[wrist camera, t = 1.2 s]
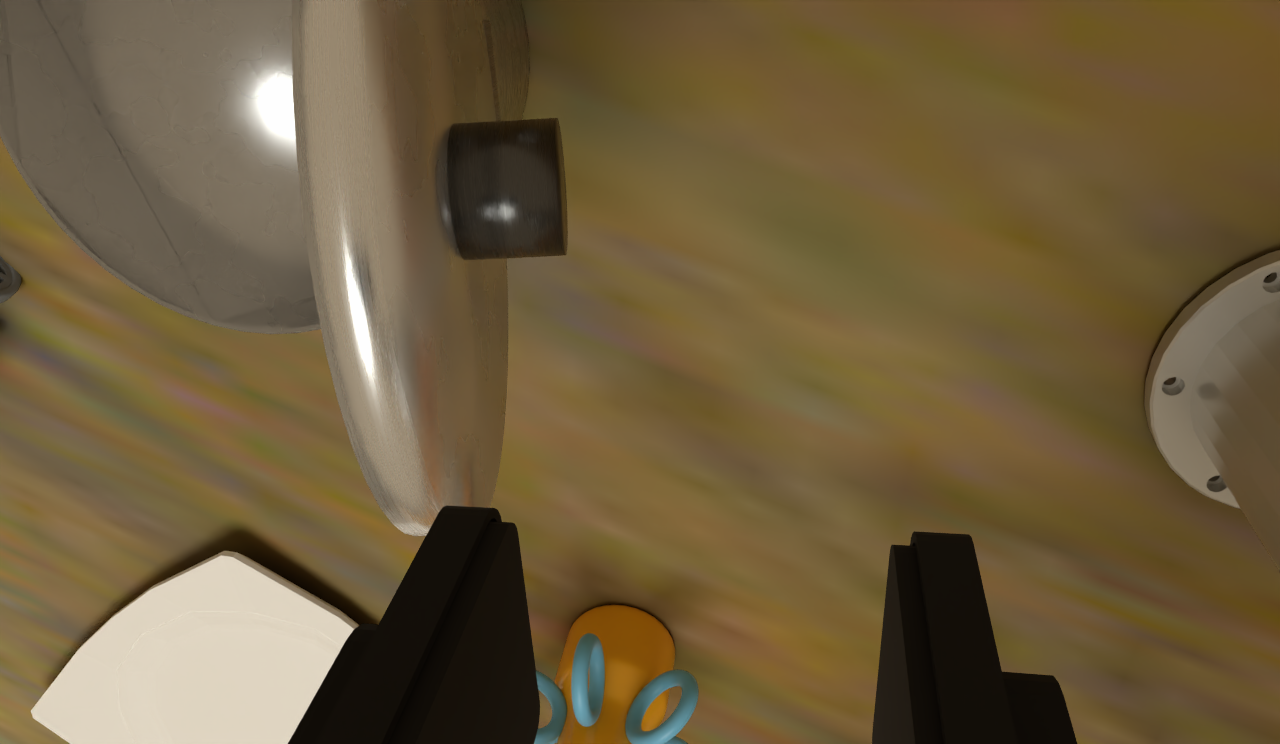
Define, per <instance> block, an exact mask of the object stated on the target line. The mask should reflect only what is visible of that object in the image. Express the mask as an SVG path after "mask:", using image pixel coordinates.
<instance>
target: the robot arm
mask: <svg viewBox="0 0 1280 744" xmlns="http://www.w3.org/2000/svg"><path fill="white" fill-rule="evenodd" d="M1271 273H1272V274H1271ZM1269 274H1271V276H1269V277H1268V278H1265V277H1266V276H1268V275H1269ZM1169 378H1170V379H1169ZM1167 379H1169V380H1167ZM1144 407H1145V412H1146V418H1147V423H1148V428H1149V430H1150V432H1151V434H1152V436H1153V439H1154V441H1155V443H1156V445H1157V447H1158V449H1159V451H1160V452H1161V454H1162V455H1163V457H1164V458H1165V460H1166V462H1167V463H1168V465H1169V466H1170V468H1171V469H1172V470H1173V471H1174V472H1175V473H1176V474H1177V475H1178V476H1179V477H1180V478H1181V479H1182V480H1183V481H1185V482H1186V483H1187V484H1188V485H1189V486H1191V487H1192V488H1194V489H1195V490H1197V491H1198V492H1200V493H1201V494H1203V495H1205V496H1206V497H1208V498H1211V499H1213V500H1216V501H1218V502H1221V503H1224V504H1226V505H1229V506H1231V507H1234V508H1239V509H1241V510H1242V512H1243V513H1244V515H1245V516H1246V518H1247V520H1248V521H1249V523H1250V525H1251V526H1252V528H1253V529H1254V531H1255V533H1256V534H1257V536H1258V537H1259V539H1260V541H1261V542H1262V544H1263V546H1264V547H1265V549H1266V550H1267V552H1268V554H1269V555H1270V557H1271V559H1272V560H1273V562H1274V563H1275V565H1276V567H1277V568H1278V570H1279V572H1280V250H1278V251H1274V252H1271V253H1268V254H1266V255H1264V256H1261V257H1259V258H1257V259H1255V260H1253V261H1251V262H1249V263H1246V264H1244V265H1242V266H1240V267H1238V268H1236V269H1234V270H1233V271H1231V272H1230V273H1228V274H1227V275H1225V276H1224V277H1222V278H1221V279H1219V280H1218V281H1216V282H1215V283H1213V284H1212V285H1210V286H1209V287H1207V288H1206V289H1205V290H1204V291H1203V292H1202V293H1201V294H1200V295H1198V296H1197V297H1196V298H1195V299H1194V300H1193V301H1192V302H1191V303H1190V304H1188V305H1187V306H1186V307H1185V308H1184V309H1183V310H1182V312H1181V313H1180V314H1179V316H1178V317H1177V318H1176V319H1175V321H1174V322H1173V323H1172V324H1171V326H1170V327H1169V328H1168V329H1167V331H1166V332H1165V334H1164V336H1163V338H1162V340H1161V341H1160V343H1159V345H1158V347H1157V349H1156V351H1155V353H1154V355H1153V357H1152V360H1151V364H1150V367H1149V371H1148V374H1147V378H1146V381H1145V399H1144ZM539 715H540V700H539V692H538V684H537V676H536V669H535V661H534V653H533V646H532V638H531V630H530V622H529V615H528V607H527V599H526V592H525V584H524V576H523V569H522V561H521V553H520V545H519V538H518V532H517V527H516V525H515V524H514V523H508V522H502V521H501V516H500V514H499V512H498V510H497V509H495V508H483V507H466V506H448V505H447V506H445V507H442V509H441V510H440V512H439V513H438V515H437V517H436V518H435V520H434V522H433V524H432V526H431V528H430V530H429V532H428V533H427V535H426V537H425V539H424V541H423V543H422V545H421V546H420V548H419V550H418V552H417V554H416V556H415V558H414V560H413V561H412V563H411V565H410V567H409V569H408V571H407V573H406V575H405V576H404V578H403V580H402V582H401V584H400V586H399V588H398V589H397V591H396V593H395V595H394V597H393V599H392V601H391V603H390V604H389V606H388V608H387V610H386V612H385V614H384V616H383V618H382V619H381V621H380V623H379V625H376V624H361V625H359V626H358V627H356V628H355V629H354V630H353V631H352V633H351V634H350V636H349V637H348V638H347V640H346V641H345V643H344V645H343V647H342V648H341V650H340V652H339V654H338V655H337V657H336V659H335V661H334V663H333V664H332V666H331V668H330V670H329V671H328V673H327V675H326V677H325V679H324V680H323V682H322V684H321V686H320V687H319V689H318V691H317V693H316V694H315V696H314V698H313V700H312V702H311V703H310V705H309V707H308V709H307V710H306V712H305V714H304V716H303V718H302V719H301V721H300V723H299V725H298V726H297V728H296V730H295V732H294V733H293V735H292V737H291V739H290V741H289V742H288V744H534V742H535V738H536V734H537V730H538V724H539ZM872 744H1077V741H1076V738H1075V734H1074V731H1073V727H1072V724H1071V720H1070V717H1069V713H1068V710H1067V706H1066V703H1065V699H1064V696H1063V693H1062V690H1061V688H1060V685H1059V683H1058V681H1057V680H1056V679H1055V677H1054V676H1051V675H1038V674H1024V673H1011V672H1002V671H1001V666H1000V662H999V657H998V653H997V648H996V644H995V639H994V635H993V630H992V626H991V621H990V617H989V612H988V607H987V603H986V598H985V594H984V589H983V585H982V580H981V576H980V571H979V567H978V562H977V558H976V553H975V549H974V544H973V541H972V538H971V536H970V535H967V534H949V533H931V532H913V534H912V537H911V543H910V546H905V545H892V546H891V549H890V556H889V566H888V577H887V587H886V598H885V608H884V618H883V629H882V639H881V650H880V660H879V670H878V681H877V691H876V701H875V712H874V722H873V735H872Z"/></svg>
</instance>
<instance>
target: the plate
mask: <svg viewBox="0 0 1280 744" xmlns="http://www.w3.org/2000/svg"><path fill="white" fill-rule="evenodd" d="M358 626H359V625H358V624H357V623H356V622H355V621H353V620H352V619H351V618H349V617H348V616H347V615H346V614H344V613H343V612H342V611H341V610H339V609H337V608H335V607H334V606H332V605H330V604H328V603H327V602H325V601H323V600H321V599H320V598H318V597H316V596H314V595H313V594H311V593H309V592H307V591H306V590H304V589H302V588H300V587H299V586H297V585H295V584H293V583H292V582H290V581H288V580H286V579H285V578H283V577H281V576H279V575H278V574H276V573H274V572H273V571H271V570H269V569H267V568H266V567H264V566H262V565H260V564H259V563H257V562H255V561H253V560H252V559H250V558H248V557H246V556H244V555H242V554H239V553H237V552H231V551H223V552H221V553H219V554H217V555H215V556H212V557H210V558H208V559H206V560H204V561H202V562H200V563H198V564H196V565H194V566H192V567H190V568H188V569H186V570H184V571H182V572H180V573H178V574H176V575H174V576H172V577H170V578H168V579H166V580H164V581H162V582H160V583H158V584H156V585H154V586H152V587H151V588H149V589H148V590H147V591H145V592H144V593H143V594H141V595H140V596H139V597H137V598H136V599H134V600H133V601H132V602H130V603H129V604H128V605H126V606H125V607H124V608H122V609H121V610H120V611H118V612H117V613H116V614H114V615H113V616H112V617H111V618H110V619H109V620H108V621H107V622H106V623H105V624H104V625H103V626H102V627H101V628H99V629H98V630H97V631H96V632H95V633H94V634H93V635H92V636H91V637H90V638H89V639H88V640H87V641H86V642H85V643H84V644H83V645H82V646H81V647H80V648H79V649H78V651H77V652H76V653H75V654H74V656H73V657H72V658H71V660H70V661H69V662H68V663H67V665H66V666H65V667H64V669H63V670H62V671H61V673H60V674H59V675H58V676H57V678H56V679H55V680H54V682H53V683H52V684H51V685H50V687H49V688H48V689H47V691H46V692H45V693H44V694H43V696H42V697H41V698H40V700H39V701H38V702H37V703H36V705H35V706H34V707H33V709H32V710H31V713H32V715H33V718H34V719H35V720H37V721H38V722H40V723H41V724H43V725H44V726H46V727H47V728H48V729H50V730H51V731H53V732H54V733H56V734H57V735H59V736H60V737H61V738H63V739H64V740H66V741H67V742H69V743H70V744H288V742H289V741H290V739H291V737H292V735H293V733H294V732H295V730H296V728H297V726H298V725H299V723H300V721H301V719H302V718H303V716H304V714H305V712H306V710H307V709H308V707H309V705H310V703H311V702H312V700H313V698H314V696H315V694H316V693H317V691H318V689H319V687H320V686H321V684H322V682H323V680H324V679H325V677H326V675H327V673H328V671H329V670H330V668H331V666H332V664H333V663H334V661H335V659H336V657H337V655H338V654H339V652H340V650H341V648H342V647H343V645H344V643H345V641H346V640H347V638H348V637H349V636H350V634H351V633H352V631H353V630H354V629H355V628H356V627H358Z"/></svg>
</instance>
